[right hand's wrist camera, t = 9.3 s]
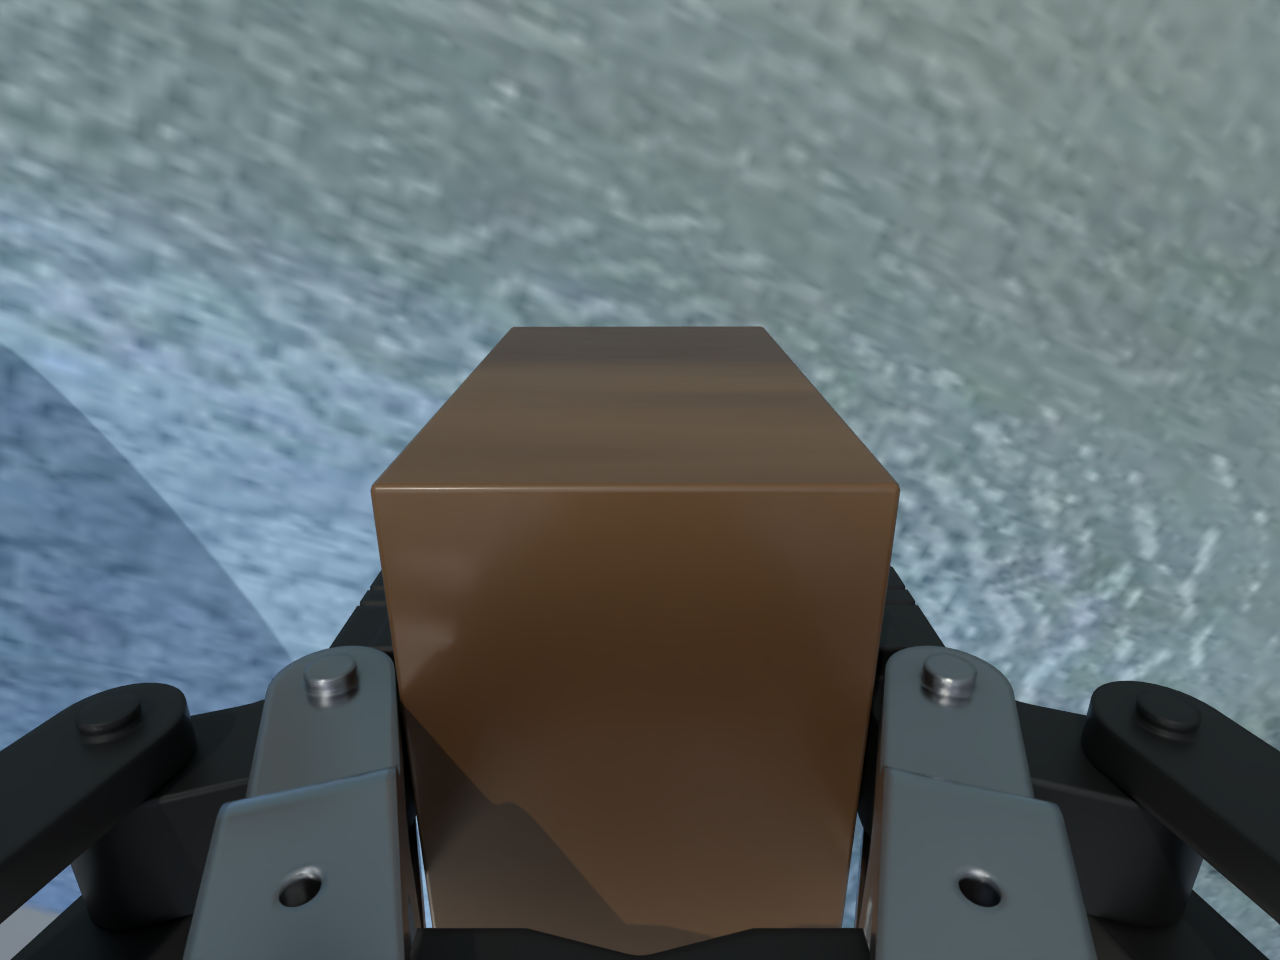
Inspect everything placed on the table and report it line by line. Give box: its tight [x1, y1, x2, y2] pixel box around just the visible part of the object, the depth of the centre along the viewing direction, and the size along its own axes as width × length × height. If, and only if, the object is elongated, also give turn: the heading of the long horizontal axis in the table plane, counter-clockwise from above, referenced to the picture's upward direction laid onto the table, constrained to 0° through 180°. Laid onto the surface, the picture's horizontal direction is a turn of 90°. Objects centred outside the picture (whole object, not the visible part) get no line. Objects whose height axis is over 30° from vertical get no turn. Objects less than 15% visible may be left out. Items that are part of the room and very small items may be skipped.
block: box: [371, 327, 900, 955], centre depth 14 cm, size 22×5×8 cm, turn 0°
